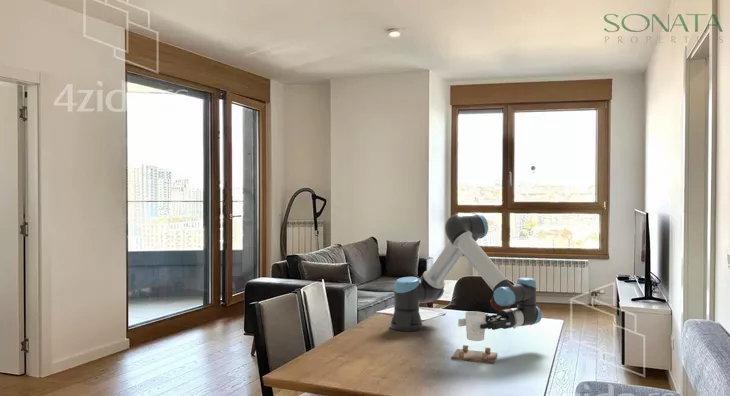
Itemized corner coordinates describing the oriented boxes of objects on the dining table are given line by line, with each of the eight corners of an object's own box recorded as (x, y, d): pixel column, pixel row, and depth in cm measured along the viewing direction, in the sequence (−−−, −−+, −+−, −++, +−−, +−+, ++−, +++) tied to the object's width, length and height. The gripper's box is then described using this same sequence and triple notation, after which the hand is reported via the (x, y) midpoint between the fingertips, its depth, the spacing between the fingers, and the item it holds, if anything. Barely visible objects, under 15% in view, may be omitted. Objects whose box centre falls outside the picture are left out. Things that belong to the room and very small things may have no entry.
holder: (451, 359, 223) (451, 351, 223) (457, 351, 234) (457, 343, 234) (493, 363, 218) (493, 356, 218) (497, 355, 229) (497, 347, 229)
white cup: (485, 342, 221) (485, 316, 221) (465, 340, 223) (465, 315, 222) (485, 336, 229) (485, 311, 229) (465, 335, 230) (465, 310, 230)
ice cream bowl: (514, 321, 287) (514, 291, 286) (491, 321, 287) (492, 291, 287) (509, 317, 297) (509, 288, 297) (487, 316, 298) (487, 287, 297)
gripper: (528, 333, 226) (483, 340, 214) (491, 322, 243) (449, 329, 232) (528, 313, 226) (483, 320, 214) (492, 305, 243) (449, 310, 232)
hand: (465, 325), depth 223 cm, fingers closed on white cup, 7 cm apart
